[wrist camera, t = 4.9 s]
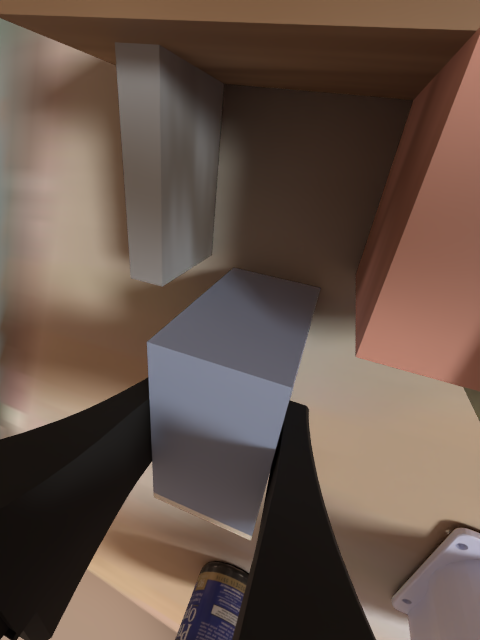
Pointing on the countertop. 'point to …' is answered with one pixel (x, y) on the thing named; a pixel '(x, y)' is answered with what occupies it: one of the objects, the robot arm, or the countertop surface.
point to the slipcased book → (225, 394)
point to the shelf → (319, 76)
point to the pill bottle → (214, 603)
